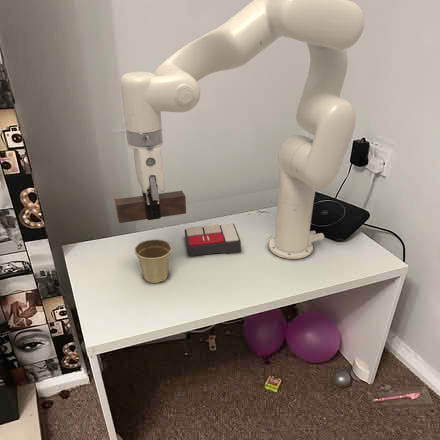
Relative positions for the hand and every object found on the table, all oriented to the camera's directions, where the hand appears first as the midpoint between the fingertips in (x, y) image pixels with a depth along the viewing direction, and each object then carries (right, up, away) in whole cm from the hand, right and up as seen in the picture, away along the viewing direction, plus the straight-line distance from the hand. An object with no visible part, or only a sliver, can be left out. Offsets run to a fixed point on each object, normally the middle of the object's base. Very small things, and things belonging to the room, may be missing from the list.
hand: (152, 214), depth 104 cm
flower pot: (-1, -15, +11) cm, 18 cm away
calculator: (+14, -5, +24) cm, 28 cm away
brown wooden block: (0, 0, 0) cm, 0 cm away
